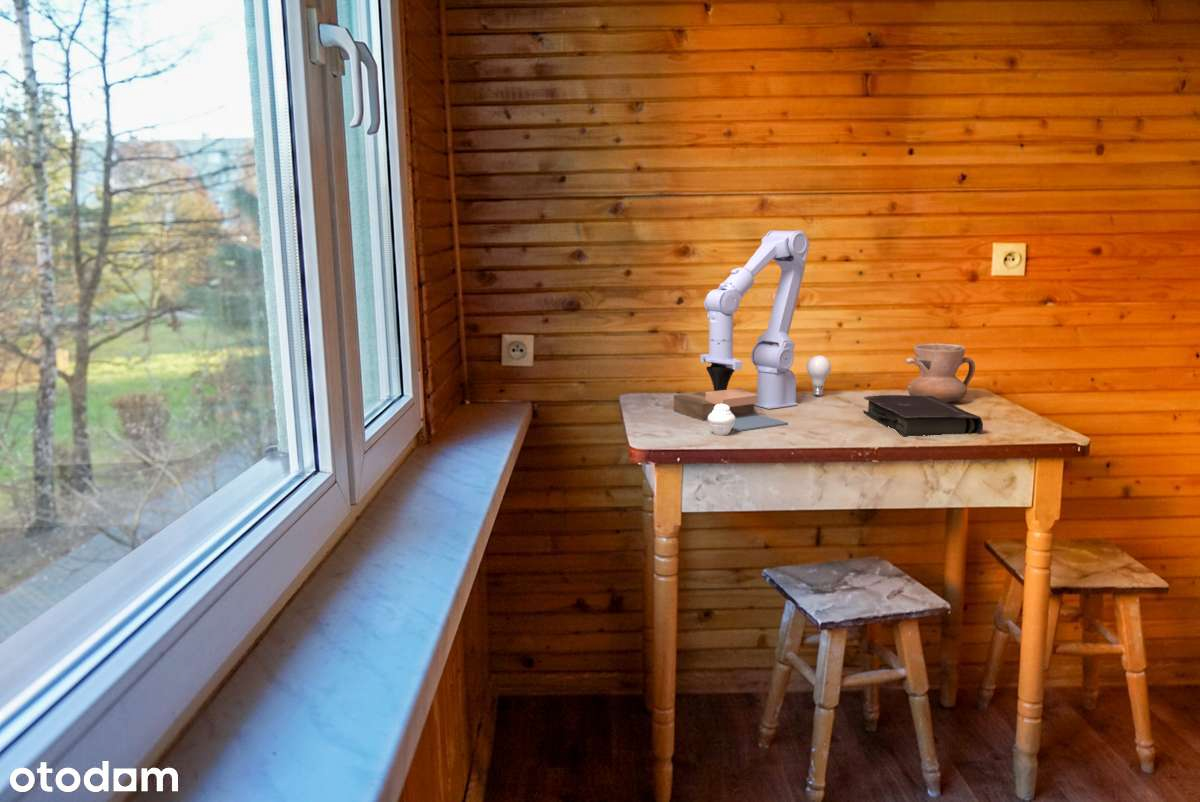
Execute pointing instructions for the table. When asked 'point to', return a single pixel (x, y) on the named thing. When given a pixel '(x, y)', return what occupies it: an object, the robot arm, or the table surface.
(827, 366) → the lightbulb
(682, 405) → the board
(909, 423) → the diary
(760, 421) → the mat
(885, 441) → the table surface
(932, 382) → the ceramic jug
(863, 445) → the table surface
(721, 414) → the muffin
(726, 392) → the block
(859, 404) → the table surface
